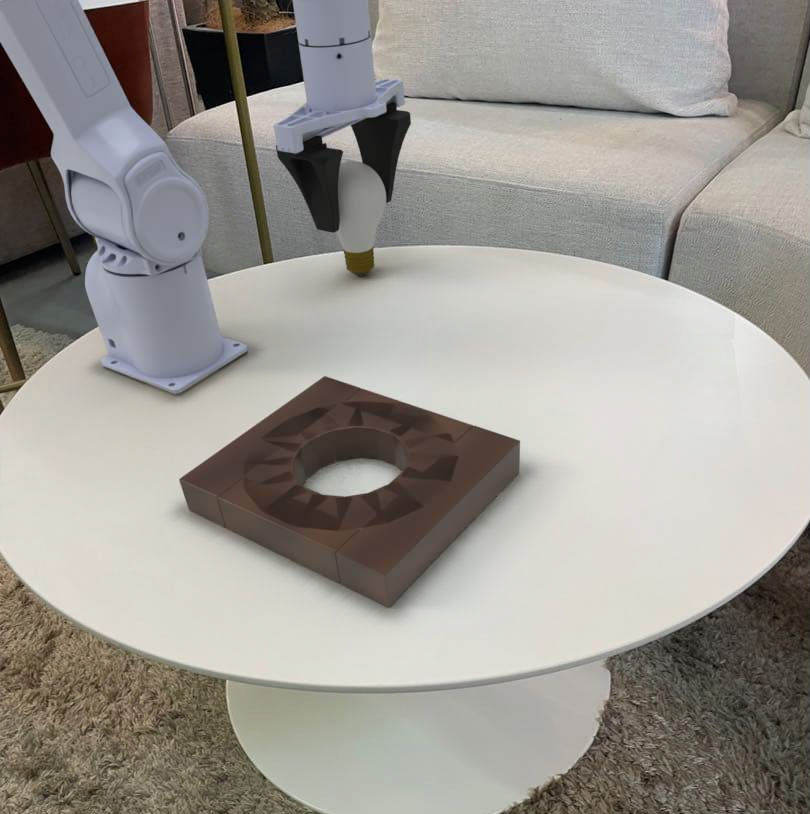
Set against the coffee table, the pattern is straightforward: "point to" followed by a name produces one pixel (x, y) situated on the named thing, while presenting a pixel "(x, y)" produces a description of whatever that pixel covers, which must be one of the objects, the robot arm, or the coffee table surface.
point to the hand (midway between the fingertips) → (354, 214)
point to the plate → (364, 513)
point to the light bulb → (359, 214)
